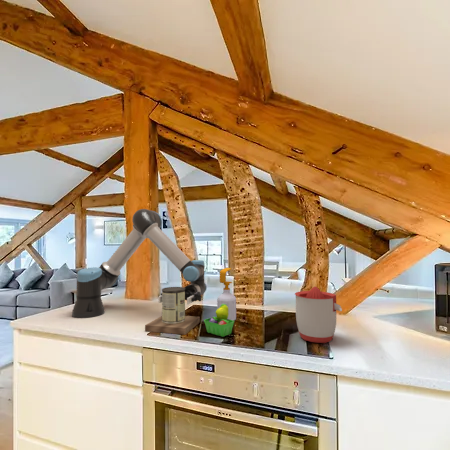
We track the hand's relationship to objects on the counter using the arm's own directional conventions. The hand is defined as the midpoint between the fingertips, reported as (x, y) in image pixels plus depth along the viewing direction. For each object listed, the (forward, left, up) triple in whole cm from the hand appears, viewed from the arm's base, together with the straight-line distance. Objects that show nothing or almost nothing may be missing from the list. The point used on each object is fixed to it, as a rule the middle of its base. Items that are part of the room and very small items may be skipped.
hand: (173, 300), depth 125 cm
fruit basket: (+22, -2, -12) cm, 25 cm away
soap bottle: (+20, +18, -12) cm, 29 cm away
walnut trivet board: (0, +1, -12) cm, 12 cm away
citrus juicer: (+61, 0, -12) cm, 62 cm away
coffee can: (0, +1, -9) cm, 9 cm away
